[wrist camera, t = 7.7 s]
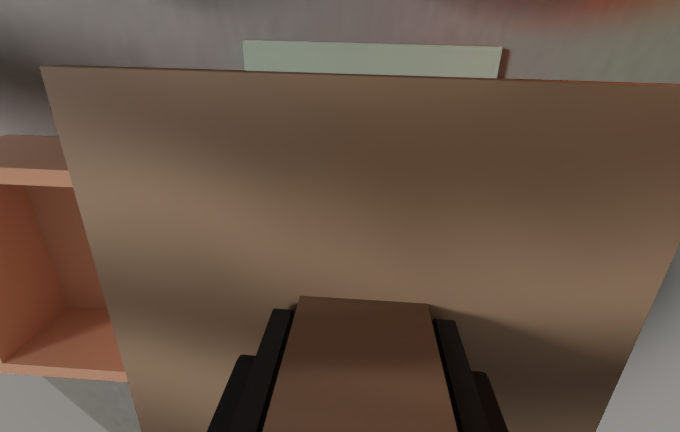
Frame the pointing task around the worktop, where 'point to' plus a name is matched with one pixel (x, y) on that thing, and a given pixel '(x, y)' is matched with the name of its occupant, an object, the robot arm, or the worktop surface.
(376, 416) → the lid
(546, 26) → the worktop surface
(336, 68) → the mat
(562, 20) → the worktop surface
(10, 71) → the worktop surface
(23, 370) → the salmon open box
